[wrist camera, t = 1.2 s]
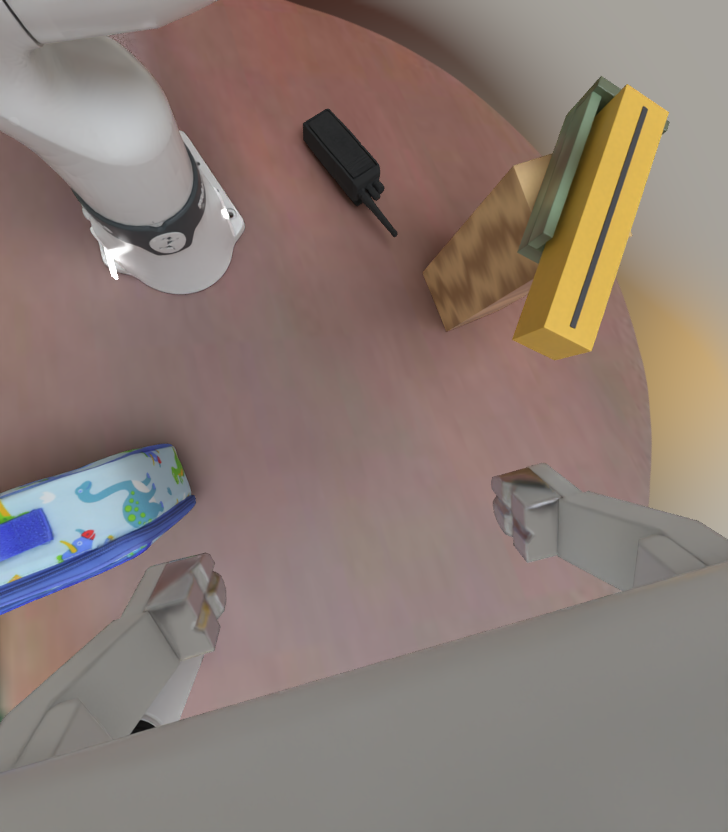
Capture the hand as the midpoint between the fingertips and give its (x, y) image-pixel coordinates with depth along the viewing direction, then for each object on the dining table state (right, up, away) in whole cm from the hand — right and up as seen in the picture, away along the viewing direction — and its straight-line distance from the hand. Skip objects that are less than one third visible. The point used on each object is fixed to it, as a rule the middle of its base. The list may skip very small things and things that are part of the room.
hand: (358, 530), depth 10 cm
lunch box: (-35, -9, +36) cm, 51 cm away
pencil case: (+19, +19, +22) cm, 35 cm away
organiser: (+16, +23, +47) cm, 55 cm away
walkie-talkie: (-1, +38, +44) cm, 58 cm away
